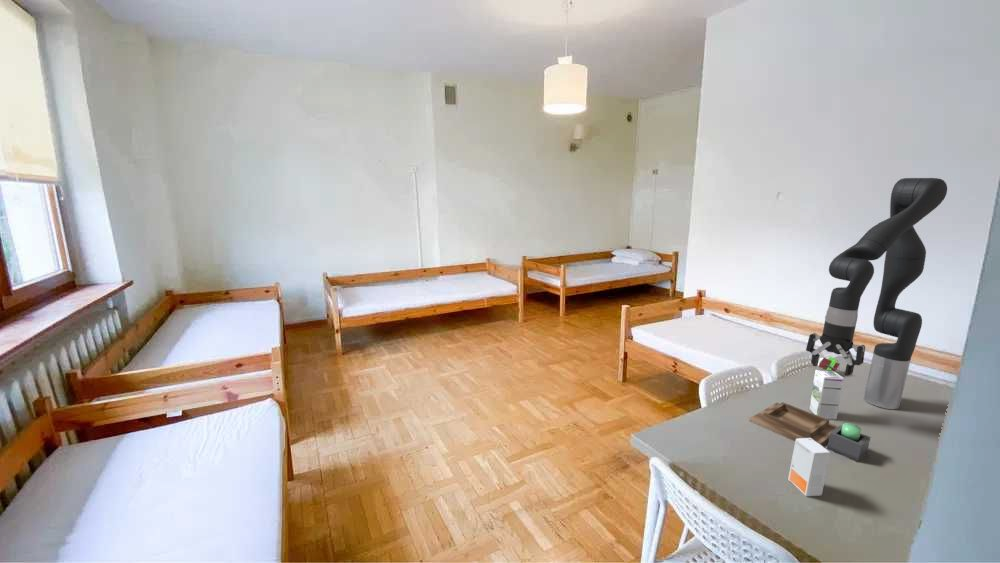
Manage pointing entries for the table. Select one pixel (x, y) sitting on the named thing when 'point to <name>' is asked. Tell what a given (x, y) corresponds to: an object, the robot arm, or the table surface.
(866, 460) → the table surface
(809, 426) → the brown wooden square tray
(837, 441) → the button housing
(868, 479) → the table surface
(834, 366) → the geometric puzzle
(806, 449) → the skincare box
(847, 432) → the button
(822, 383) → the syrup box
